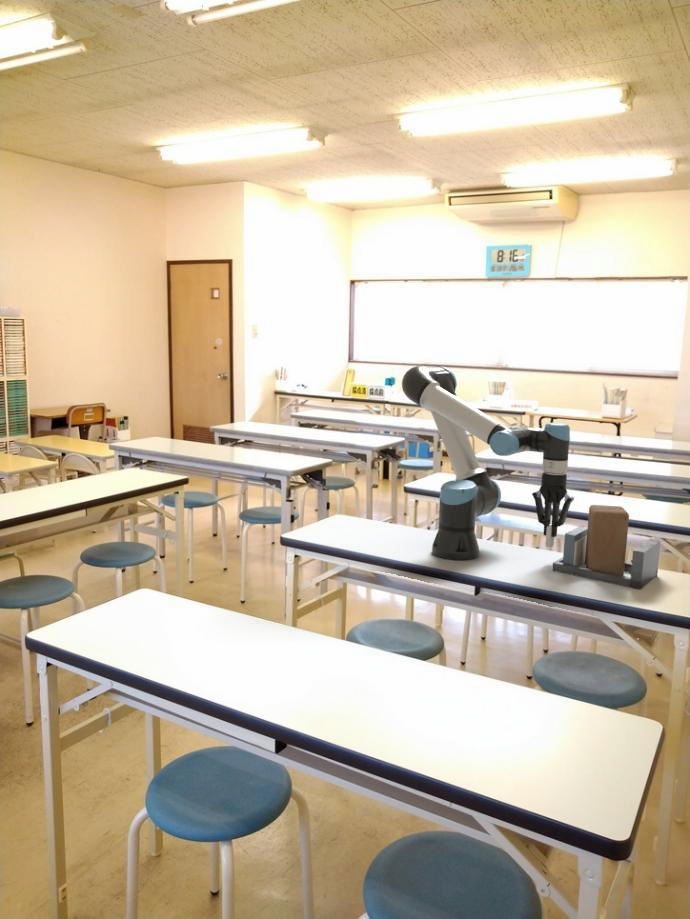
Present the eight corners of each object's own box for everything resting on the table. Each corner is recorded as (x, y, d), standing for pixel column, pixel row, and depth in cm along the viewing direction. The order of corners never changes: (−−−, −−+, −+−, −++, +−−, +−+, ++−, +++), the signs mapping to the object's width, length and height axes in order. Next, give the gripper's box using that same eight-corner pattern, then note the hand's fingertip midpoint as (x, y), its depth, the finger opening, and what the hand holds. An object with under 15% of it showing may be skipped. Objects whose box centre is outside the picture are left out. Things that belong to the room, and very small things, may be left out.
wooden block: (624, 579, 212) (630, 513, 209) (588, 576, 214) (594, 511, 211) (617, 569, 222) (623, 505, 219) (583, 566, 224) (589, 503, 220)
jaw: (562, 568, 220) (565, 533, 218) (575, 560, 229) (578, 527, 227) (573, 571, 218) (576, 535, 216) (586, 563, 226) (589, 529, 225)
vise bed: (552, 570, 219) (554, 535, 217) (572, 558, 232) (575, 525, 230) (640, 589, 203) (644, 552, 201) (657, 575, 216) (660, 540, 215)
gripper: (529, 471, 225) (525, 544, 229) (570, 477, 217) (564, 552, 221) (539, 468, 231) (534, 540, 234) (579, 474, 223) (573, 547, 227)
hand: (549, 546), depth 228 cm, fingers closed
